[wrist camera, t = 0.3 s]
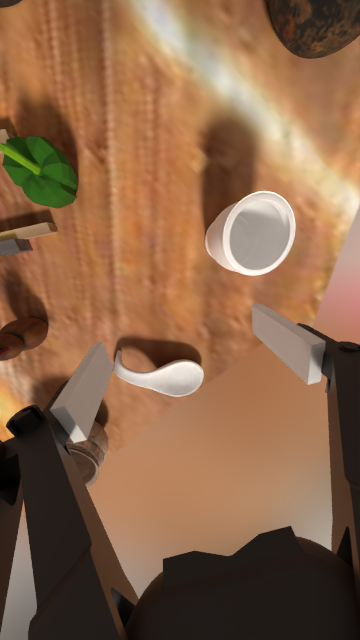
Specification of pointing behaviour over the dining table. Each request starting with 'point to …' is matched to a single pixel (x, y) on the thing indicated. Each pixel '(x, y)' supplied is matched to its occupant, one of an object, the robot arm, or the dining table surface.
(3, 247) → the tan wooden u-shaped frame
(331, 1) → the glass bottle
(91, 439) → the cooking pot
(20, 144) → the bell pepper
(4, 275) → the dining table surface
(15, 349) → the wooden figurine
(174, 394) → the spoon rest
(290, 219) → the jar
